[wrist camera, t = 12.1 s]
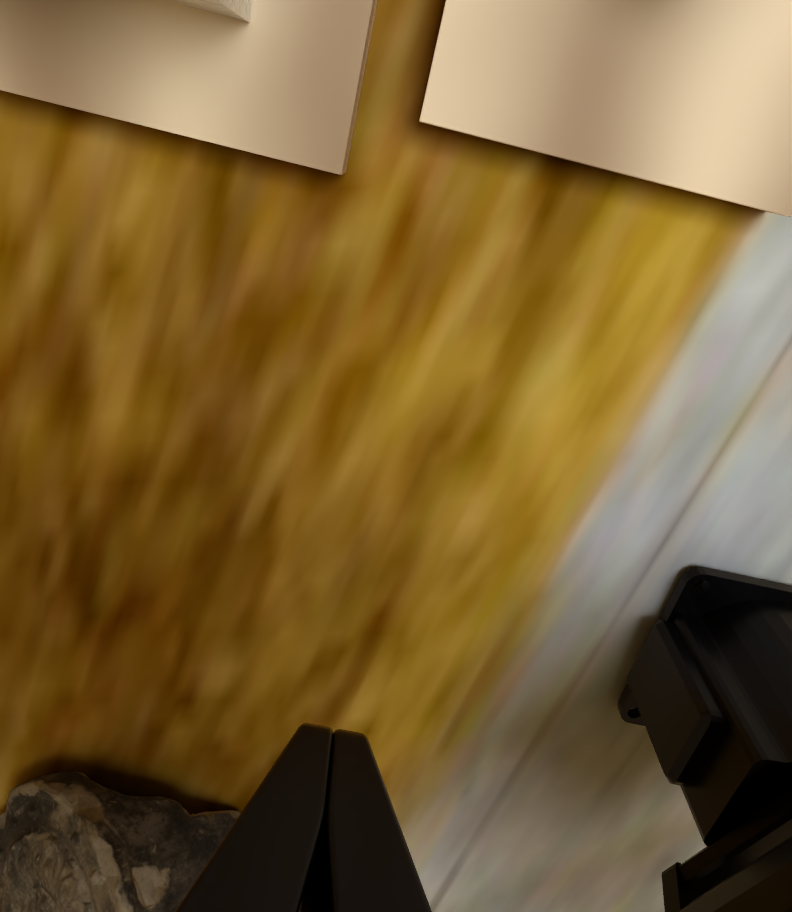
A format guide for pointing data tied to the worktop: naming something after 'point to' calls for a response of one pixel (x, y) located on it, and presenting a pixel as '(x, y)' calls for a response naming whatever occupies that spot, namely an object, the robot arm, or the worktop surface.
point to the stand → (628, 88)
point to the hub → (200, 69)
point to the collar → (221, 7)
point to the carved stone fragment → (100, 848)
